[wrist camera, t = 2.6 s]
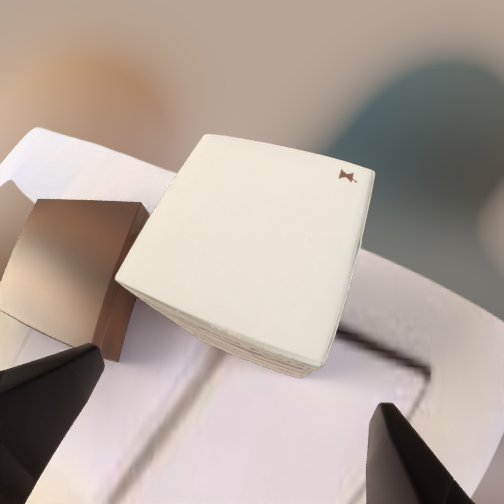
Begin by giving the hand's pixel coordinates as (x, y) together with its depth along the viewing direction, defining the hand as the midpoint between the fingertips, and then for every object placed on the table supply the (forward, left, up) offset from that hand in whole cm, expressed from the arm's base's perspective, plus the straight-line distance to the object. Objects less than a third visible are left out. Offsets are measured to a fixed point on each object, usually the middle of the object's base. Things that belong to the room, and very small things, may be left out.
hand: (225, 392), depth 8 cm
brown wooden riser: (+15, +11, -12) cm, 22 cm away
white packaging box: (+4, -3, -12) cm, 13 cm away
